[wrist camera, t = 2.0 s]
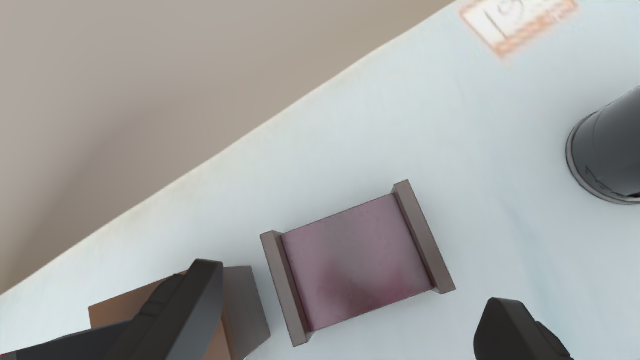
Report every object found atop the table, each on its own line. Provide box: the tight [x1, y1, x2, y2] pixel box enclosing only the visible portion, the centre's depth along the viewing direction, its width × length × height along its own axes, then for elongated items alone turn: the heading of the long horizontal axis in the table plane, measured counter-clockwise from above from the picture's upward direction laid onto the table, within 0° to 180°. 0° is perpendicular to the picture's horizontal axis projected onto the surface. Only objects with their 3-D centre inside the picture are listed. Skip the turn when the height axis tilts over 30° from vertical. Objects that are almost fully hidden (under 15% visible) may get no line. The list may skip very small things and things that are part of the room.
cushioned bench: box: [260, 179, 456, 347], centre depth 30 cm, size 13×9×8 cm
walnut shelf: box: [88, 265, 270, 360], centre depth 29 cm, size 10×8×10 cm
